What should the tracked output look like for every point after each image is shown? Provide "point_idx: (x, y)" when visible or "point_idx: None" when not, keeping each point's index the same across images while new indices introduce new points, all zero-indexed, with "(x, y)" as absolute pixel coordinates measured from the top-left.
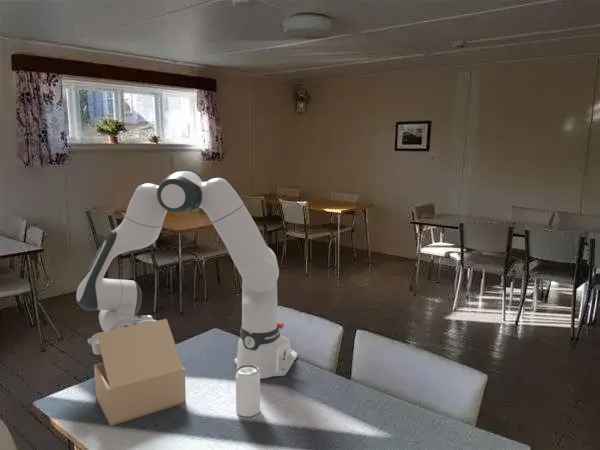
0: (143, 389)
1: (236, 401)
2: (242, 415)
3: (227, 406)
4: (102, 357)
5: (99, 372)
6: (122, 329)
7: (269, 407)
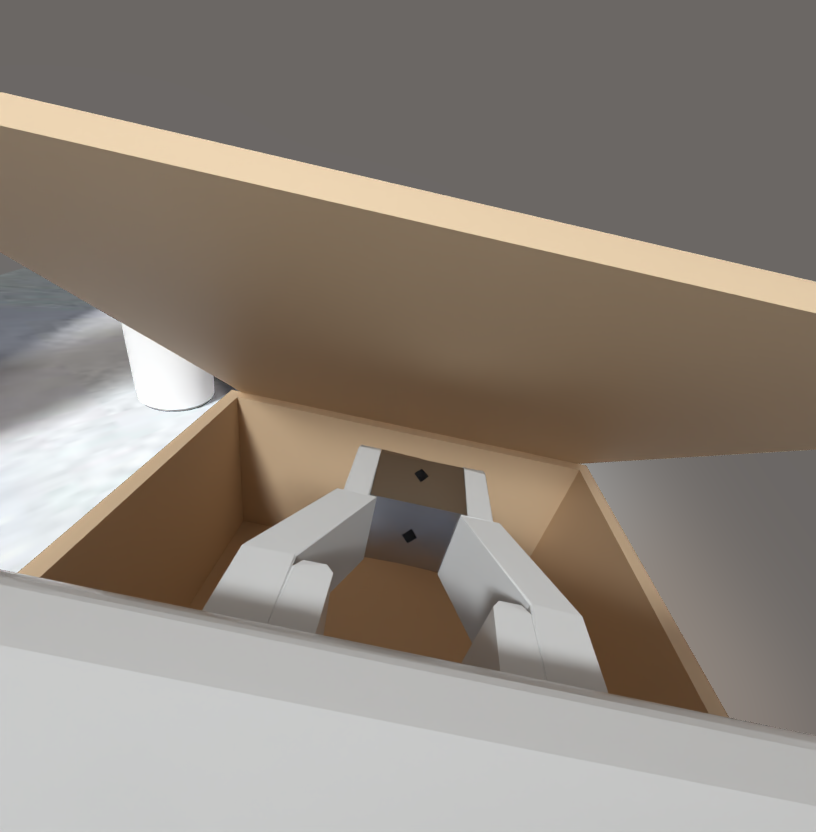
0: None
1: (203, 372)
2: (214, 389)
3: (183, 430)
4: (727, 451)
5: (697, 677)
6: (729, 291)
7: (132, 376)
